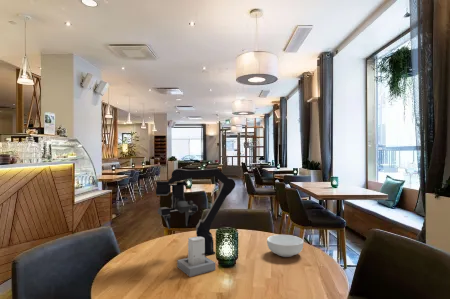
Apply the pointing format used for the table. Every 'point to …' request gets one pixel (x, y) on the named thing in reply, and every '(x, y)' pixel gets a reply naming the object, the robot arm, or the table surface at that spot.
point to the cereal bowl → (285, 245)
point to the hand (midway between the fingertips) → (178, 227)
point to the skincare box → (196, 250)
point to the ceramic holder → (196, 267)
